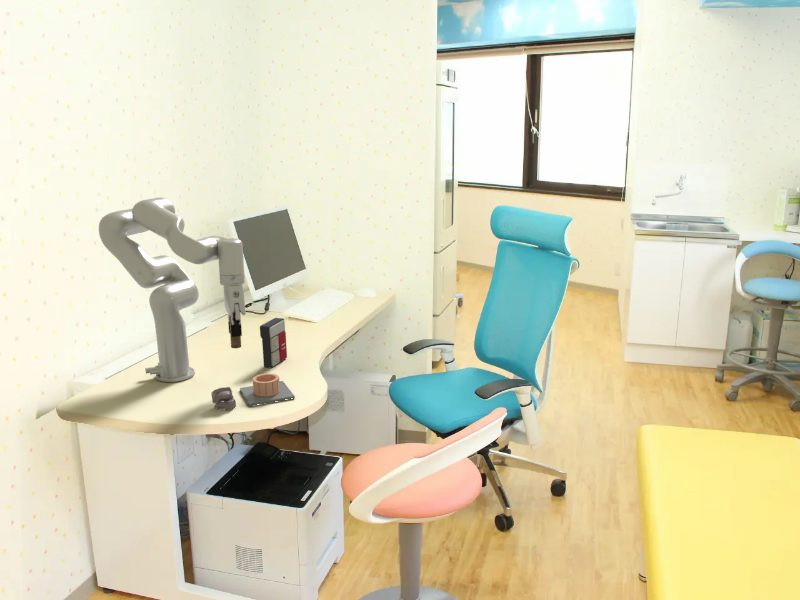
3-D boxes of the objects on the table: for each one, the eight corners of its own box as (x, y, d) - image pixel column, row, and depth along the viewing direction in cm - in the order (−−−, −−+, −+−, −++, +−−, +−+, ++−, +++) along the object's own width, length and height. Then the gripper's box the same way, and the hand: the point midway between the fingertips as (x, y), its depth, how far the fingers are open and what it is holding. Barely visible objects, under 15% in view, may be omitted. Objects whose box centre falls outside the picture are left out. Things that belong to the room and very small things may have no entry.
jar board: (249, 406, 214) (248, 389, 212) (240, 390, 226) (238, 374, 225) (294, 398, 219) (293, 381, 218) (282, 383, 232) (281, 367, 230)
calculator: (273, 368, 246) (270, 327, 242) (262, 367, 247) (259, 325, 243) (288, 358, 256) (286, 318, 252) (278, 357, 257) (275, 317, 253)
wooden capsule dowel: (232, 348, 225) (229, 312, 222) (230, 345, 228) (227, 310, 224) (242, 347, 226) (240, 311, 223) (240, 344, 229) (238, 308, 226)
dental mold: (212, 402, 218) (211, 387, 217) (235, 400, 219) (234, 384, 218) (212, 412, 210) (211, 397, 209) (236, 410, 212) (235, 394, 211)
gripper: (250, 283, 215) (252, 340, 220) (238, 271, 230) (241, 326, 235) (225, 285, 212) (228, 343, 217) (215, 274, 227) (218, 328, 232)
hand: (235, 334), depth 226 cm, fingers closed on wooden capsule dowel, 3 cm apart
